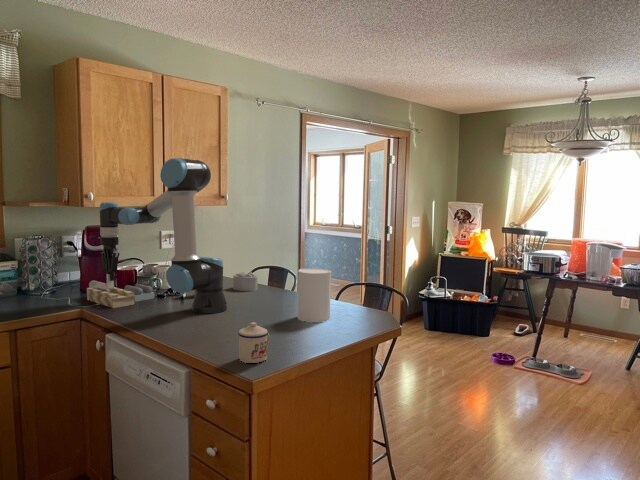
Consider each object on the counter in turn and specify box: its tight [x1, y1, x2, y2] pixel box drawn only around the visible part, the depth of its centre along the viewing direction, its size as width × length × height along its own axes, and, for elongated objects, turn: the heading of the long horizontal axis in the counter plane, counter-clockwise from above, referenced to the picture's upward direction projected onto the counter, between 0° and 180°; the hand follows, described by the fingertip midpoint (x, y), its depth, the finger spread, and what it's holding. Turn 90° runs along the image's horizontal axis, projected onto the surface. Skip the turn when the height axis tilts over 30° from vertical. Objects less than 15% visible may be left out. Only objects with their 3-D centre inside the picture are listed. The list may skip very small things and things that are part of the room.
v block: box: [123, 283, 155, 303], centre depth 232 cm, size 11×10×6 cm
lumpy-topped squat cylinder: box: [232, 271, 258, 292], centre depth 259 cm, size 10×13×9 cm
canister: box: [297, 267, 332, 323], centre depth 201 cm, size 14×14×20 cm
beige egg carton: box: [86, 286, 135, 309], centre depth 224 cm, size 24×10×6 cm, turn 51°
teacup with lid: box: [238, 321, 271, 362], centre depth 152 cm, size 12×9×12 cm
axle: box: [88, 279, 115, 293], centre depth 228 cm, size 16×4×4 cm, turn 51°
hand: (110, 287), depth 223 cm, fingers closed
